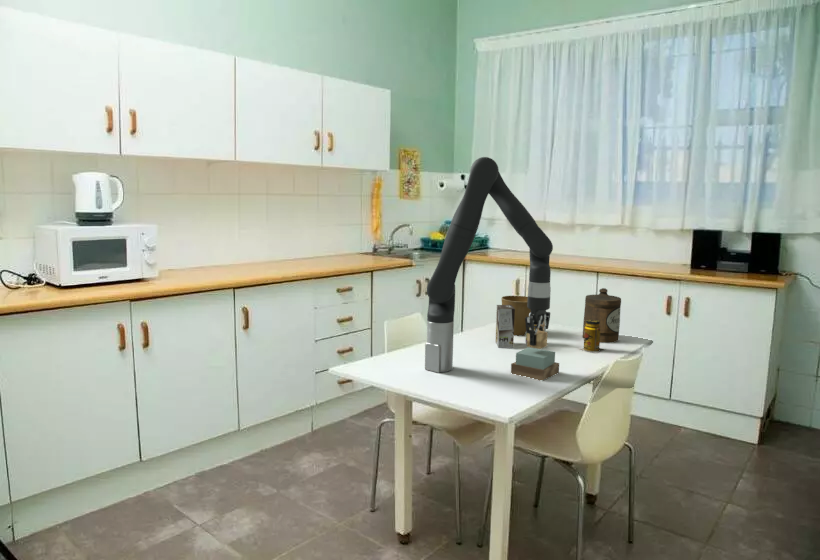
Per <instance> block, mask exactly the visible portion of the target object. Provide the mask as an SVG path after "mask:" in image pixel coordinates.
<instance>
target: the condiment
mask: <svg viewBox="0 0 820 560" xmlns="http://www.w3.org/2000/svg"><path fill="white" fill-rule="evenodd" d="M600 344H601V343H600V321H598V320H586V327H585V331H584V338H583V348H580V349H579V351H584V352H589V353H595V354H596V353H597V354H598V353H600V352H603V351H605V350H606V348H603V347H600V346H601V345H600Z"/></svg>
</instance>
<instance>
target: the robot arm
mask: <svg viewBox="0 0 820 560" xmlns="http://www.w3.org/2000/svg"><path fill="white" fill-rule="evenodd" d="M488 196H490V197H491V198H492V199H493V201H494V202H495V204H497V206H498V208H499V209H500V211H501V212H502V214H503V215H504V217H505V218H506V220H507V221H508V223H509V224H510V226H511V227H512V228H513V229H514V231H516V233H517V234H518V236H519V237H521V238H522V239H523V241H524V243H525V244H526V245H527V247H528V248H529V272H528V273H529V275H528V285H527V297H528V300H527V307H528V308H529V309H530V310H531V313H530V316H529V317H525V323H526V333H529V334H530V345H533V346H535V345H536V340H537V331H544V332H547V331H546V330H548V329H549V326H550V320H551V312H550V311H548V310H549V309H550V308H551V271H552V270H551V266H550V256H551V254H552V252H553V250H554V246H553V243H552V241H551V239H550V238H549V237H548V235H547V234H546V233H545V232H544V231H543V230H542V228H541V227H540V226H539V225H538V224H537V222H536V221H535V218H533V216H532V215H531V213H530V212H529V211H528V210H527V208H526V207H525V206H524V205H523V203H522V202H521V201H520V200H519V199H518V198H517V196H516V195H515V194H514V193H513V192H512V191H511V189H510V188H509V187H508V185H507V184H506V182H505V181H504V179H503V177H502V175H501V173H500V170H499V166H498V164H497V162H496V161H495V160H494V159H493V158H491V157H488V156H483V157H479V158H477V159H476V160H475V161H473V163H472V164H471V166H470V170H469V176H468V181H467V184H466V187H465V190H464V193H463V196H462V199H461V200H460V202H459V204H458V206H457V208H456V210H455V212H454V214H453V216H452V219H451V222H450V224H449V227H448V230H447V233H446V235H445V238H444V242H443V245H442V248H441V252H440V257H439V260H438V262H437V265H436V268H435V269H434V272H433V274H432V276H431V278H430V280H429V281H428V283H427V286H426V293H427V294H426V295H427V296H428V307H427V309H428V310H427V314H426V315H427V318H426V342H425V344H424V370H428V371H430V372H434V373H445V372H450V371H452V370H453V369H454V368H453V366H454V365H453V363H454V361H453V360H454V358H453V357H454V325H455V324H454V323H455V319H454V318H455V308H456V305H455V304H456V280H457V277H458V273H459V272H460V267H461V266H462V264H463V262H464V260H465V259H466V257H467V255H468V252H469V251H470V249H471V247H472V244H473V243H474V240H475V237H476V234H477V232H478V229H479V227H480V222H481V218H482V215H483V209H484V206H485V202H486V201H487V198H488ZM535 325H536V326H535ZM529 328H530V329H529ZM534 328H535V331H534ZM526 333H525V334H526Z"/></svg>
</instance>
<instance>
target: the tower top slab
mask: <svg viewBox="0 0 820 560" xmlns="http://www.w3.org/2000/svg"><path fill="white" fill-rule="evenodd" d="M555 361H556V351H554V350H547V349H543V348H541V349H537V348H532V347H526V348H524V349H521V350H520V351H517V352H516V353H515V362H516V365H521V366H527V367H532V368H537V369H542V370H544V369H545V368H547V367H549V366H550V365H552V364H554V363H555Z"/></svg>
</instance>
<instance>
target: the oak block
mask: <svg viewBox="0 0 820 560" xmlns="http://www.w3.org/2000/svg"><path fill="white" fill-rule="evenodd" d="M534 331H535V330H534ZM548 334H549V333H548V332H547V331H545V332H544V331H537V340H536V345H535V346H533V345H530V334H529V333H527V344H526V348H528V347H530V348H536V349H544V348H546V347H547V346H548Z"/></svg>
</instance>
